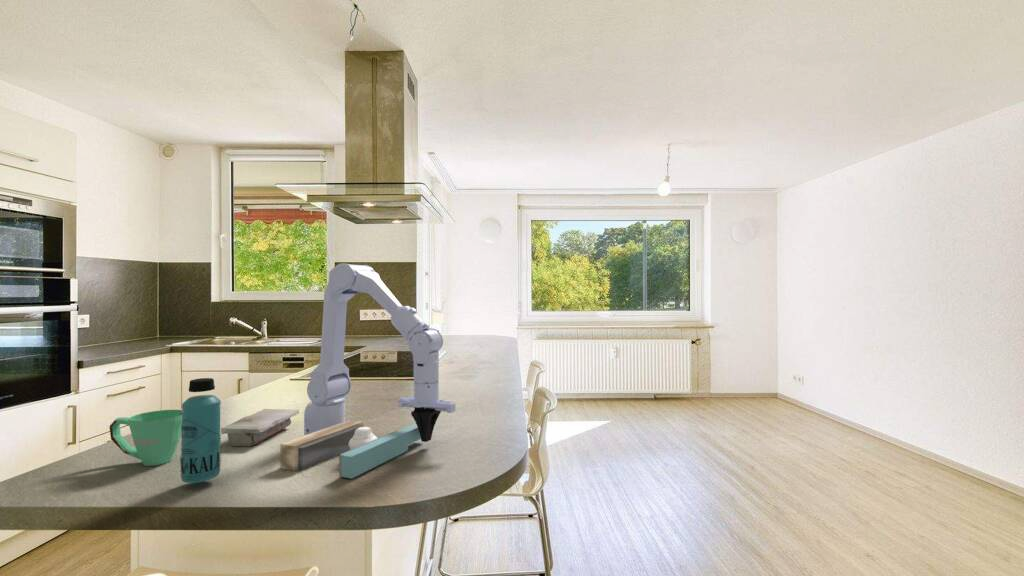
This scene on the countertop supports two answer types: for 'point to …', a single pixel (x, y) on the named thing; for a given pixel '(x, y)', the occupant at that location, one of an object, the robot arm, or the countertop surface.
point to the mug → (150, 435)
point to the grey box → (258, 426)
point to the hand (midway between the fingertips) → (426, 440)
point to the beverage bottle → (200, 434)
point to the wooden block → (317, 446)
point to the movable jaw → (376, 451)
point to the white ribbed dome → (361, 437)
